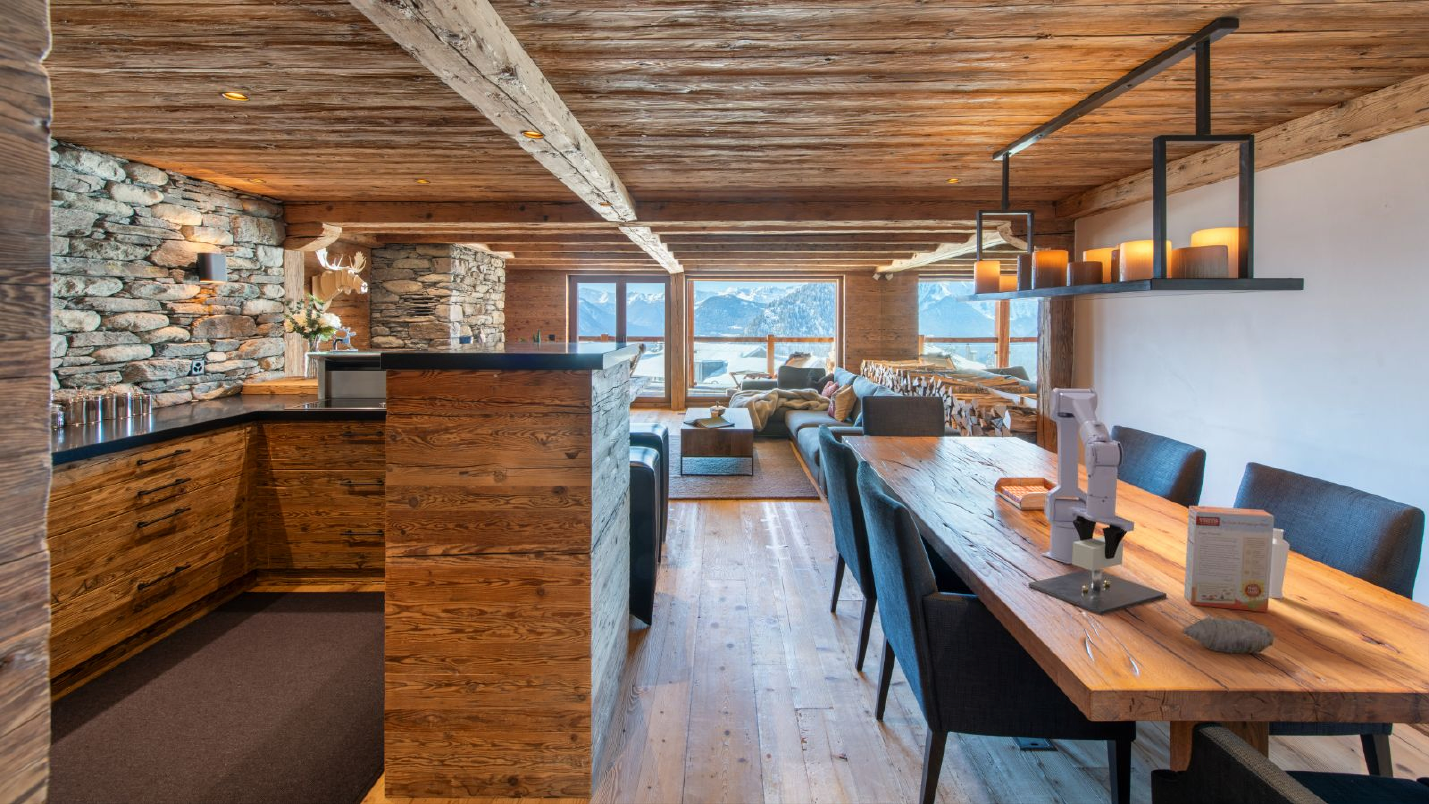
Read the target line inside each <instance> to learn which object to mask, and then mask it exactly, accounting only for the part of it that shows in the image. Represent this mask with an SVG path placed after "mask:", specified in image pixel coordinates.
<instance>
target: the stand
mask: <svg viewBox="0 0 1429 804" xmlns="http://www.w3.org/2000/svg"><path fill="white" fill-rule="evenodd" d="M1028 586H1029V588H1031V587H1032V589H1034V590H1036V589H1037V591H1039V592H1042V593H1044V594H1046V595H1049V596H1051V597H1054V598H1057V599H1059V600H1061V601H1064V602H1067V603H1068V604H1072V605H1075V606H1077V607H1079V608H1082V609H1085V610H1087V611H1089V612H1090V613H1091V612H1092V613H1095V614H1097V615H1099V616H1102V615H1105V614H1109V613H1112V612H1117V611H1120V610H1123V609H1128V608H1131V607H1134V606H1139V605H1142V604H1146V603H1149V602H1153V601H1157V600H1160V599H1165V598H1166V597H1167V593H1165V592H1163V591H1160V590H1157V589H1154V588H1152V587H1149V586H1145V585H1142V584H1139V583H1136V582H1134V581H1130V580H1127V579H1124V578H1122V577H1120V576H1119V577H1118V576H1116V575H1112V574H1109V573H1107V572H1103V571H1102V569H1098V570H1094V571H1091V570H1088V569H1085V570H1080V571H1077V572H1072V573H1067V574H1063V575H1059V576H1054V577H1049V578H1045V579H1041V580H1037V581H1032V582H1028Z"/></svg>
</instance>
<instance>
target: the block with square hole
mask: <svg viewBox="0 0 1429 804" xmlns="http://www.w3.org/2000/svg"><path fill="white" fill-rule="evenodd" d="M1123 551H1124V542H1123V541H1121V542H1120V543H1119V545H1118V548H1117V550H1116V553H1115V556H1114V558H1111V559H1106V558H1105V538H1104V535H1103V536H1098V537H1093V538H1092V539H1087V540H1082V541H1077V542H1073V554H1072V563H1071V564H1072V565H1074V566H1076V567H1080V568H1083V569H1085V570H1091V571H1094V570H1098V569H1099V570H1102V569H1107V568H1111V567H1114V566H1119V565H1123V554H1124V552H1123Z"/></svg>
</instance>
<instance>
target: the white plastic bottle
mask: <svg viewBox="0 0 1429 804" xmlns="http://www.w3.org/2000/svg"><path fill="white" fill-rule="evenodd" d="M1284 532H1285V530H1284V529H1282V528H1281V529H1280V528H1275V527H1273V544H1272V558H1271V573H1270V586H1269V598H1270V599H1284V596H1283V587H1284V586H1283V585H1284V578H1285V574H1286V568H1287V562H1288V557H1289V553H1290V552H1289V551H1290V546H1291V545H1290V544H1289V542H1287V540H1285V539H1283V538H1284Z"/></svg>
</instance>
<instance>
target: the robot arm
mask: <svg viewBox="0 0 1429 804" xmlns="http://www.w3.org/2000/svg"><path fill="white" fill-rule="evenodd" d="M1098 401H1099V399H1098V393H1097V391H1096V390H1095V389H1094V388H1092V387H1090V388H1058V387H1054V388H1053V390H1051V392H1050V396H1049V419H1050V420H1052V421H1053V422H1056V423H1055V424H1056V429H1057V485H1055V486H1054V487H1053V488H1051V489H1050V490H1048V491H1047V493H1046V494H1045V502H1044V505H1043V506H1044V509H1043V510H1044V516H1045V520H1047V522H1048V523H1050V534H1049V535H1050V538H1049V540H1050V541H1049V551H1047V552H1042V553H1041V556H1043V557H1046V558H1049V559H1053V560H1055V561H1057V562H1058V561H1059V562H1061V563H1062V564H1067V565H1068V564H1070V565H1071V564H1072V554H1073V542H1077V541H1082V540H1087V539H1092V538H1094V533H1095V532H1094V531H1095V528H1096V525H1097V523H1098V524H1103V525H1105V526H1107V527H1102V533H1103V537H1104V538H1105V558H1106V559H1111V558H1114V556H1115V553H1116V550H1117V548H1118V545H1119V543H1120V542H1122V540H1123V538H1124V536H1126V534H1127V533H1129V532H1134V530H1135V521H1132V520H1128V519H1126V518H1124V517H1122V516H1119V515H1116V507H1117V505H1116V503H1117V488H1118V487H1117V486H1118V472H1119V471H1118V470H1119V469H1120V468H1121V467H1122V465H1123V462H1124V449H1123V446H1122V444H1121V442H1120V441H1117V440H1115V439H1112V437H1111V434H1110V433H1109V431H1108V428H1107V427H1106V425H1105V424H1104V422H1103V421H1100V420H1098V419H1097V416H1096V410H1097V407H1098ZM1079 426H1080V427H1079ZM1079 437H1080V439H1081V442H1082V444H1083V446H1084V448H1085V450H1084V460H1085V473H1086V474H1087V484H1086V485H1087V490H1086V491H1084V490H1083V489H1081V488H1080V487H1079ZM1073 498H1075V499H1073Z"/></svg>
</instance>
